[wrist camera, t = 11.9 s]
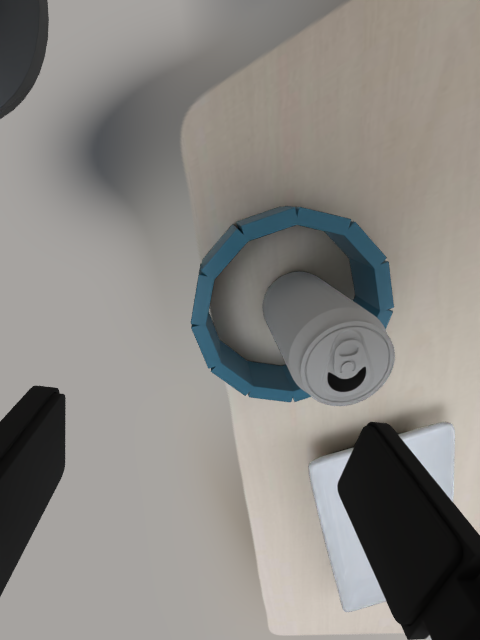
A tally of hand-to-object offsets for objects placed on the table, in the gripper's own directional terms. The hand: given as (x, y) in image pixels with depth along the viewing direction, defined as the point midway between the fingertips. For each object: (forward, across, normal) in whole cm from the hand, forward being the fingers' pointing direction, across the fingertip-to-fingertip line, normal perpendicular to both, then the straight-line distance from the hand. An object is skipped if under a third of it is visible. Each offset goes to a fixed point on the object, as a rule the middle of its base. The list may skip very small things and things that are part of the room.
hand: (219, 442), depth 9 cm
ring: (+19, -7, 0) cm, 20 cm away
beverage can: (+19, -8, 0) cm, 21 cm away
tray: (+18, -28, +27) cm, 43 cm away
